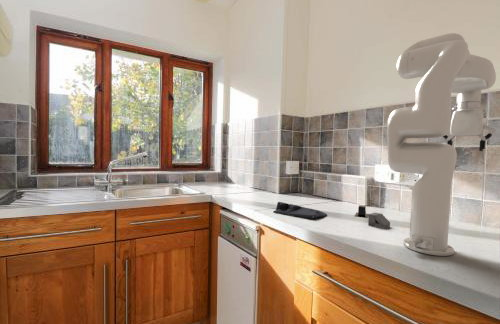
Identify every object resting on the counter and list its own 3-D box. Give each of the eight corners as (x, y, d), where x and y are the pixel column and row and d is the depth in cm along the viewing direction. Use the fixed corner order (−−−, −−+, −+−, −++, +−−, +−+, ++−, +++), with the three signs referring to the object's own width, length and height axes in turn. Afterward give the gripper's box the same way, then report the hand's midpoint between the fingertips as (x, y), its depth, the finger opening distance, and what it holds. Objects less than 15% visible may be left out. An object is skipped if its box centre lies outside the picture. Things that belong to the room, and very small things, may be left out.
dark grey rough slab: (312, 222, 108) (312, 211, 108) (269, 213, 123) (270, 202, 123) (330, 216, 119) (330, 206, 119) (289, 208, 134) (289, 198, 134)
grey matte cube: (384, 229, 99) (384, 217, 99) (368, 225, 104) (368, 213, 104) (390, 227, 103) (390, 215, 102) (374, 223, 107) (374, 212, 107)
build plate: (355, 212, 128) (355, 203, 128) (371, 214, 125) (372, 204, 125) (351, 218, 117) (352, 207, 117) (370, 220, 114) (370, 209, 114)
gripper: (439, 108, 110) (437, 150, 111) (496, 104, 98) (493, 151, 98) (443, 110, 115) (441, 150, 116) (498, 106, 103) (495, 151, 104)
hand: (465, 150), depth 107 cm, fingers open, 9 cm apart
